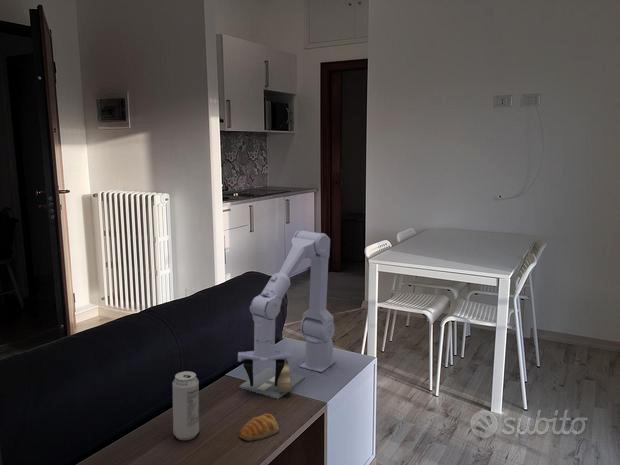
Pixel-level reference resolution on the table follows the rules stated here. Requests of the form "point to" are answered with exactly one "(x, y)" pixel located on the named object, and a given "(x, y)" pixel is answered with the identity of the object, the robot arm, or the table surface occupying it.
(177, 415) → the energy drink can
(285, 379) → the bar
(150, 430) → the table surface
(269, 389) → the label board
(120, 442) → the table surface
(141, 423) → the table surface
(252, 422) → the pastry
